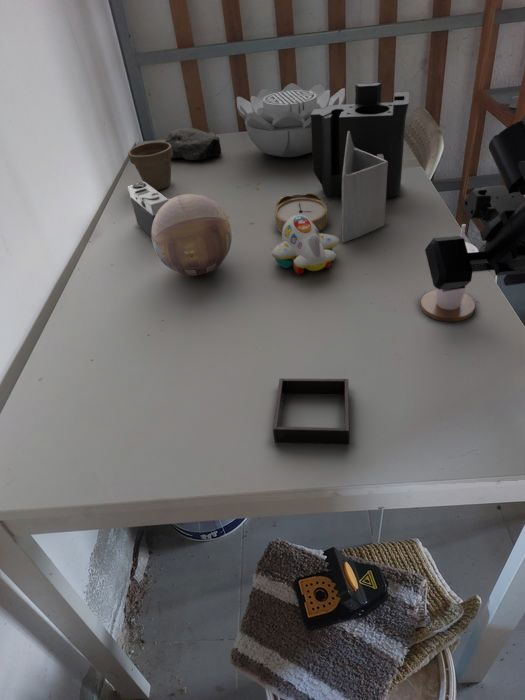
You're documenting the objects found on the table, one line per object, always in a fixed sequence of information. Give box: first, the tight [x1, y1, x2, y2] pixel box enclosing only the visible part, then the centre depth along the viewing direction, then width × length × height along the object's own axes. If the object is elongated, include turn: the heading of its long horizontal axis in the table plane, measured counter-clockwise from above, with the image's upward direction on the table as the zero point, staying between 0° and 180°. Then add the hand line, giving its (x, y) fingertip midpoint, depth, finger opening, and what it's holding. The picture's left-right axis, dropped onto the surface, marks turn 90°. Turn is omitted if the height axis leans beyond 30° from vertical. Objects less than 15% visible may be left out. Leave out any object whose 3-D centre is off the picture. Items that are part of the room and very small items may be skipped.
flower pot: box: [127, 141, 173, 191], centre depth 137 cm, size 12×11×10 cm
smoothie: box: [435, 223, 480, 310], centre depth 80 cm, size 6×6×14 cm
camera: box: [127, 181, 171, 239], centre depth 115 cm, size 14×8×10 cm, turn 32°
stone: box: [165, 127, 222, 161], centre depth 153 cm, size 18×9×10 cm
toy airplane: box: [271, 215, 340, 275], centre depth 98 cm, size 13×9×15 cm
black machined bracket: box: [311, 82, 410, 199], centre depth 118 cm, size 12×21×22 cm, turn 77°
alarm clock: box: [274, 192, 328, 233], centre depth 114 cm, size 11×5×15 cm
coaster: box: [420, 289, 476, 323], centre depth 85 cm, size 8×8×1 cm
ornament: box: [151, 193, 233, 277], centre depth 98 cm, size 15×15×15 cm
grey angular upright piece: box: [341, 131, 388, 243], centre depth 104 cm, size 16×8×19 cm, turn 166°
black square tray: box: [272, 378, 350, 445], centre depth 68 cm, size 9×9×2 cm
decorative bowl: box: [236, 82, 346, 158], centre depth 146 cm, size 30×30×15 cm
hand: (474, 285), depth 73 cm, fingers open, 9 cm apart
